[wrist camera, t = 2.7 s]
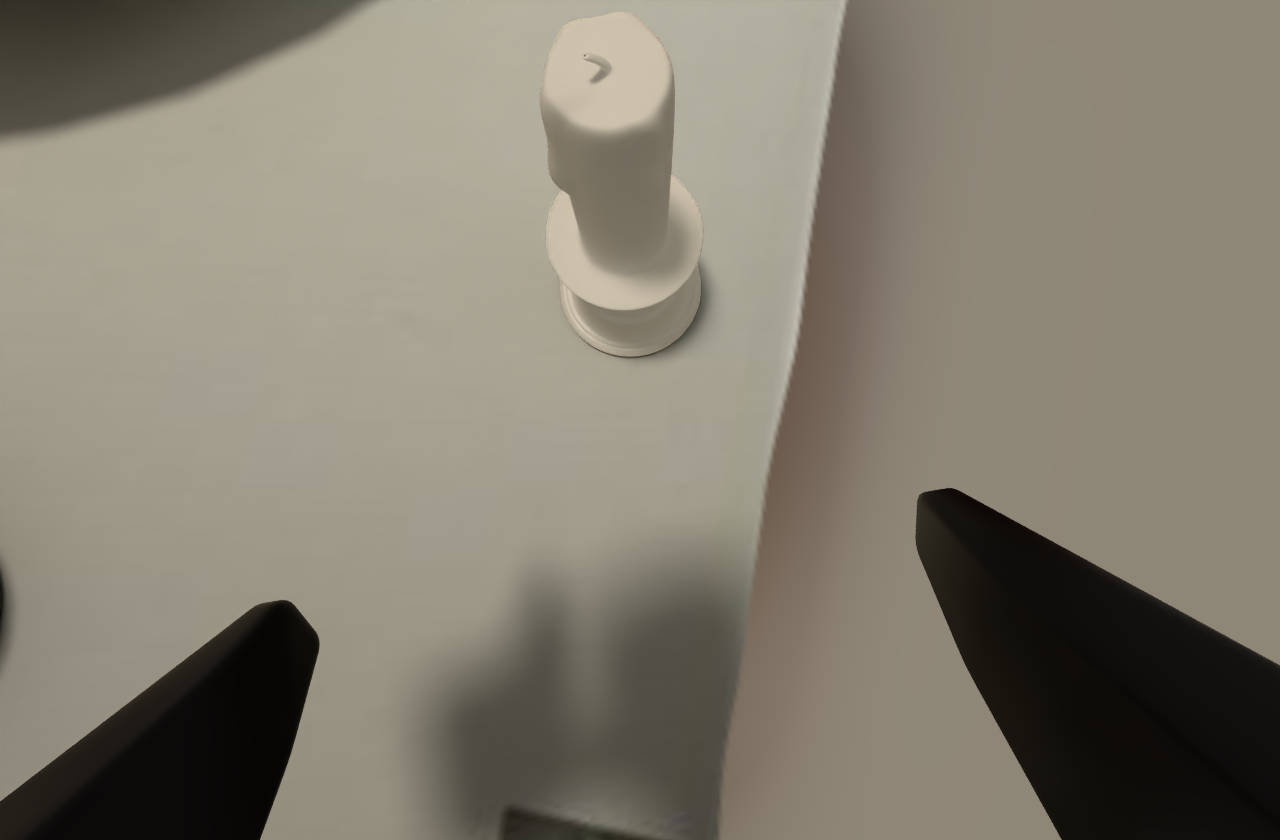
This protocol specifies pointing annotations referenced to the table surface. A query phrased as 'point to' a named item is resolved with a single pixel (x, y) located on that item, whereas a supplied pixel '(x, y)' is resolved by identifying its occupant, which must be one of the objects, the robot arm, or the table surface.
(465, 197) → the table surface
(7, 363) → the table surface
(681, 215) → the candle
